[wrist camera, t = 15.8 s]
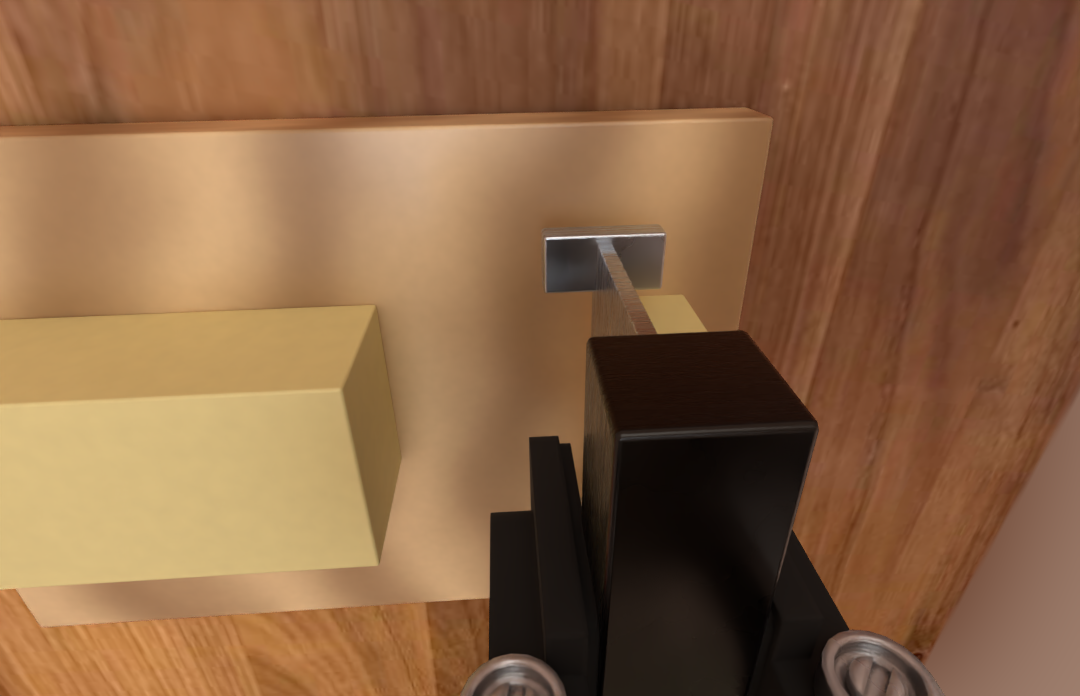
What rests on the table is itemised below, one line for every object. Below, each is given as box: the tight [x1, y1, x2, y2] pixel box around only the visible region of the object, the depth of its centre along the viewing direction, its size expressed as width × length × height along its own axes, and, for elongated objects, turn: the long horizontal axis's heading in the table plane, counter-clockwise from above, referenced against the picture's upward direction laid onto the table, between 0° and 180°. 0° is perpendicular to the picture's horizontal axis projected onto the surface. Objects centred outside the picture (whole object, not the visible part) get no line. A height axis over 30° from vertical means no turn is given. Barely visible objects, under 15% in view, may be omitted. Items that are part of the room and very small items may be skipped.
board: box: [0, 107, 773, 627], centre depth 16 cm, size 20×14×2 cm
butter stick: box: [0, 305, 402, 590], centre depth 13 cm, size 9×4×4 cm, turn 91°
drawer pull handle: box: [541, 224, 819, 696], centre depth 11 cm, size 2×9×7 cm, turn 1°
